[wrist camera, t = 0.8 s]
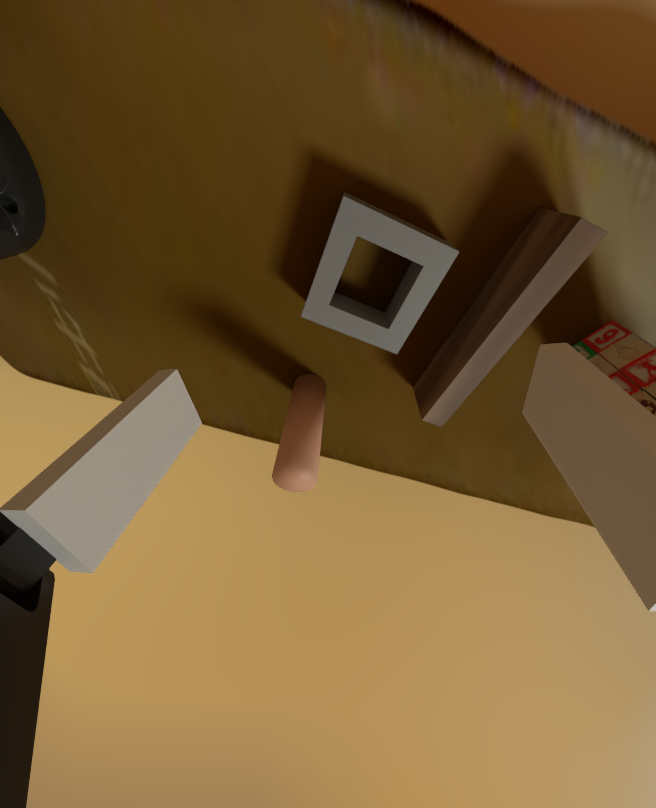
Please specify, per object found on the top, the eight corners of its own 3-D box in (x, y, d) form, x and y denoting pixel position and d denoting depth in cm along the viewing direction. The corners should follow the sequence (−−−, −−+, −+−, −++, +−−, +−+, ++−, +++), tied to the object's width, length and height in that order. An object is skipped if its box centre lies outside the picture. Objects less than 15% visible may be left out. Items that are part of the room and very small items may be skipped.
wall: (412, 387, 38) (422, 420, 33) (539, 207, 26) (581, 217, 21) (430, 393, 38) (441, 426, 33) (562, 219, 26) (608, 232, 22)
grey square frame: (305, 301, 32) (301, 316, 29) (344, 191, 26) (343, 195, 23) (392, 336, 34) (397, 354, 31) (447, 241, 28) (459, 251, 25)
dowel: (288, 378, 38) (264, 467, 27) (319, 370, 37) (307, 459, 26) (301, 403, 40) (283, 495, 29) (330, 396, 39) (323, 488, 28)
